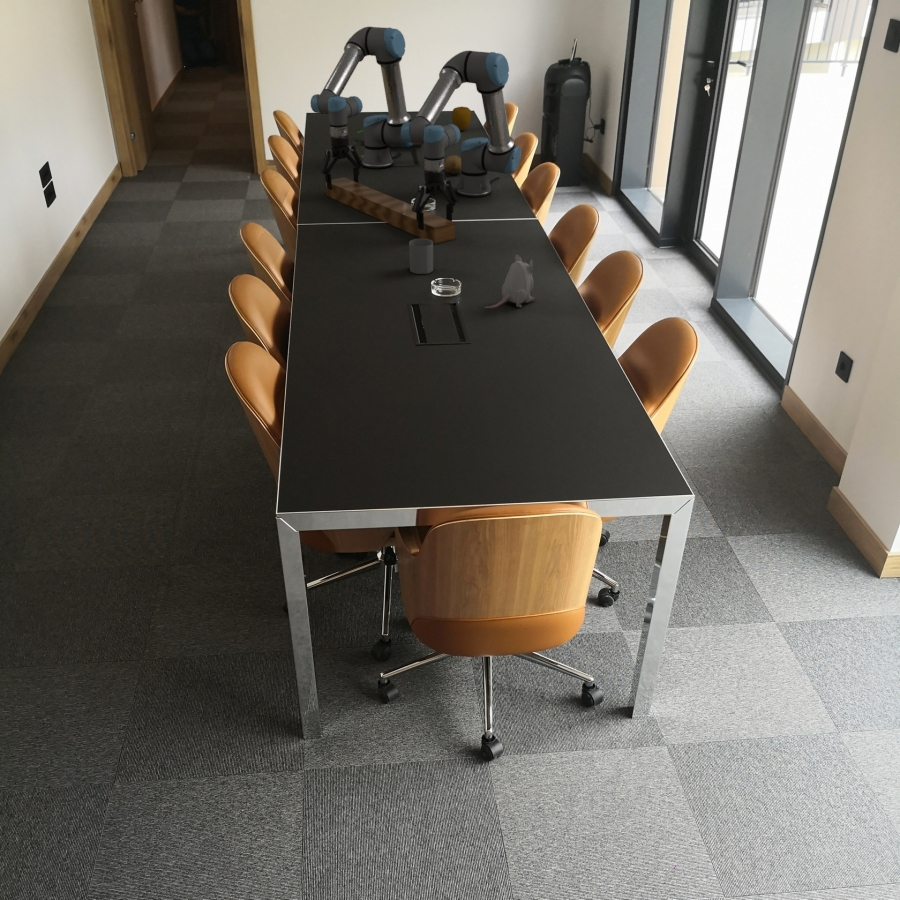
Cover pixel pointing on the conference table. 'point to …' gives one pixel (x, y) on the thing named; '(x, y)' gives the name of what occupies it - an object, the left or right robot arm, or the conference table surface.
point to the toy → (517, 283)
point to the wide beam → (391, 210)
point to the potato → (453, 164)
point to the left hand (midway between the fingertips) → (343, 186)
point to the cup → (421, 256)
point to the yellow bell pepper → (461, 117)
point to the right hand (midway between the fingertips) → (435, 225)
